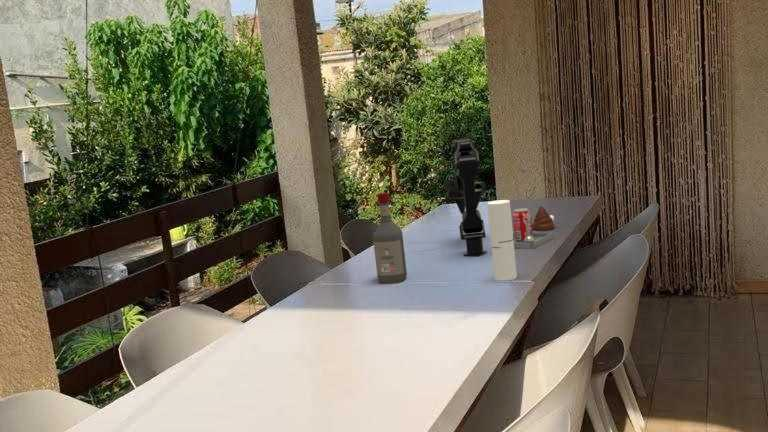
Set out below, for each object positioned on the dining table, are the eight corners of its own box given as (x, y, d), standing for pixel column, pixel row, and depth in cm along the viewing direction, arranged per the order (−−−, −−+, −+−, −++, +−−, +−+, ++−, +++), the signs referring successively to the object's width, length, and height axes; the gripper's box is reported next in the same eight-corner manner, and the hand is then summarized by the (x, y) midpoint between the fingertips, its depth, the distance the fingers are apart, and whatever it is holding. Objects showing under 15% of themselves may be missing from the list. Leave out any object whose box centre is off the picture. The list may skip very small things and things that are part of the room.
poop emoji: (528, 229, 351) (526, 207, 349) (545, 225, 354) (543, 203, 353) (542, 232, 342) (540, 209, 340) (559, 228, 345) (557, 205, 344)
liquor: (403, 282, 286) (393, 194, 281) (377, 284, 288) (366, 196, 283) (408, 276, 294) (398, 190, 290) (382, 277, 296) (372, 192, 292)
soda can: (535, 237, 329) (532, 207, 327) (531, 241, 323) (528, 210, 321) (517, 238, 332) (514, 208, 330) (512, 242, 326) (510, 211, 324)
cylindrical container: (516, 280, 272) (509, 203, 268) (493, 281, 274) (486, 204, 270) (517, 274, 279) (510, 199, 275) (495, 275, 280) (488, 201, 276)
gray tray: (532, 248, 314) (532, 243, 313) (494, 247, 323) (494, 242, 323) (553, 238, 328) (553, 233, 328) (516, 237, 337) (516, 232, 337)
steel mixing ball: (531, 246, 316) (531, 236, 315) (523, 245, 318) (522, 236, 317) (536, 243, 318) (535, 234, 318) (527, 243, 321) (526, 234, 320)
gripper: (460, 167, 340) (464, 206, 343) (434, 176, 326) (438, 216, 328) (484, 167, 333) (488, 206, 336) (458, 176, 319) (462, 217, 322)
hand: (469, 211), depth 331 cm, fingers open, 9 cm apart
